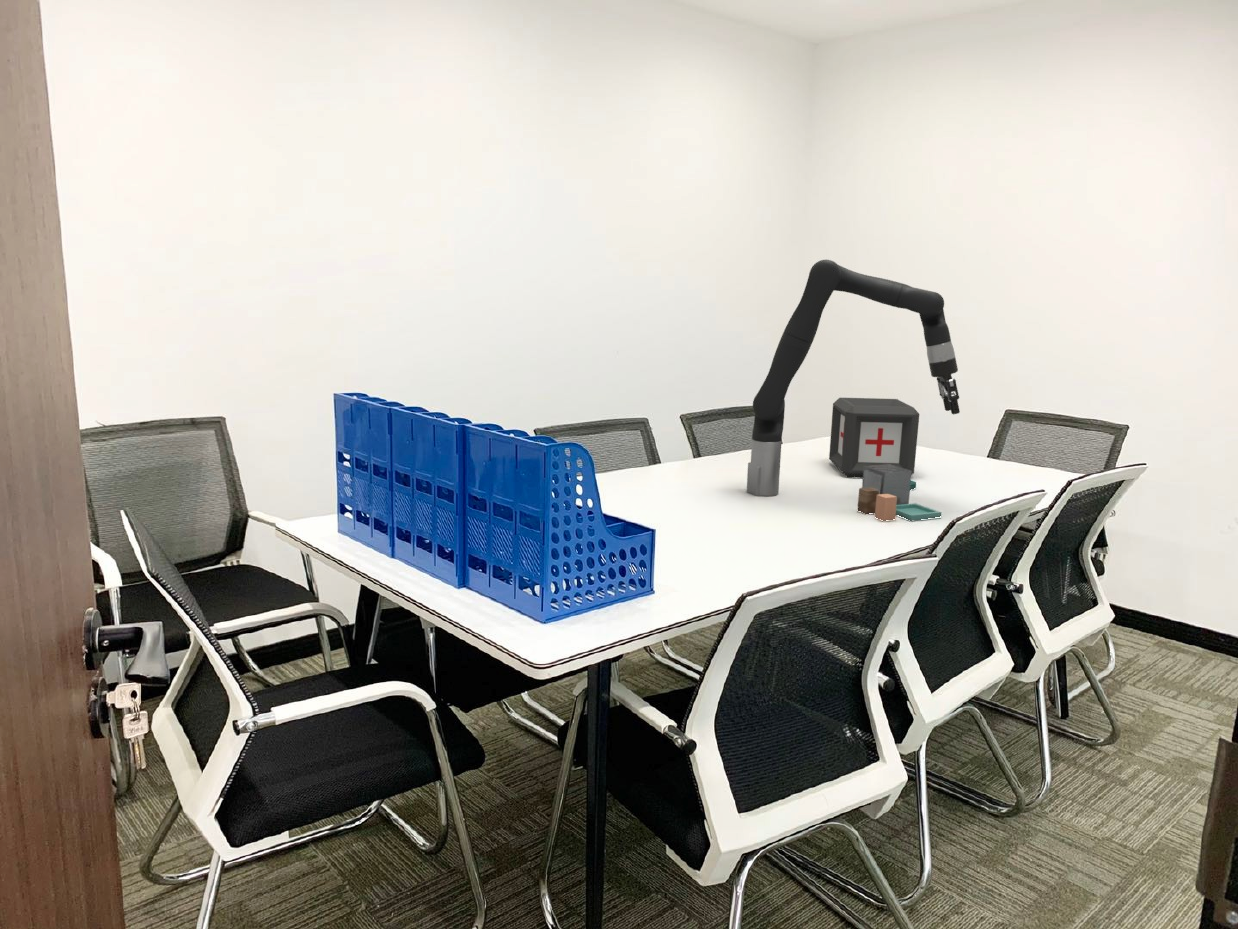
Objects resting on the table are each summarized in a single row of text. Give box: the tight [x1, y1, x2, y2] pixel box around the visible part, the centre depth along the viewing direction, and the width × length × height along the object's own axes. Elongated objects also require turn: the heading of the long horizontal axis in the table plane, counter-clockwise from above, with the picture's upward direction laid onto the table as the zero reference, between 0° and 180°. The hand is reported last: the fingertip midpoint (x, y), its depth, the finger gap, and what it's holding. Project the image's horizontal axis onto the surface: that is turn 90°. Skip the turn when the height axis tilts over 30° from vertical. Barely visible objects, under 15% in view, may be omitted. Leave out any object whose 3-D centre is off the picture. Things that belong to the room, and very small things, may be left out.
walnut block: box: [857, 487, 879, 515], centre depth 267 cm, size 4×4×7 cm
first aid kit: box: [828, 397, 920, 478], centre depth 321 cm, size 25×25×25 cm
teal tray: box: [896, 502, 942, 522], centre depth 265 cm, size 11×11×2 cm
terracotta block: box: [874, 494, 897, 522], centre depth 260 cm, size 4×4×7 cm
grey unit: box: [861, 464, 912, 505], centre depth 277 cm, size 11×10×11 cm
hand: (952, 412), depth 269 cm, fingers open, 8 cm apart
